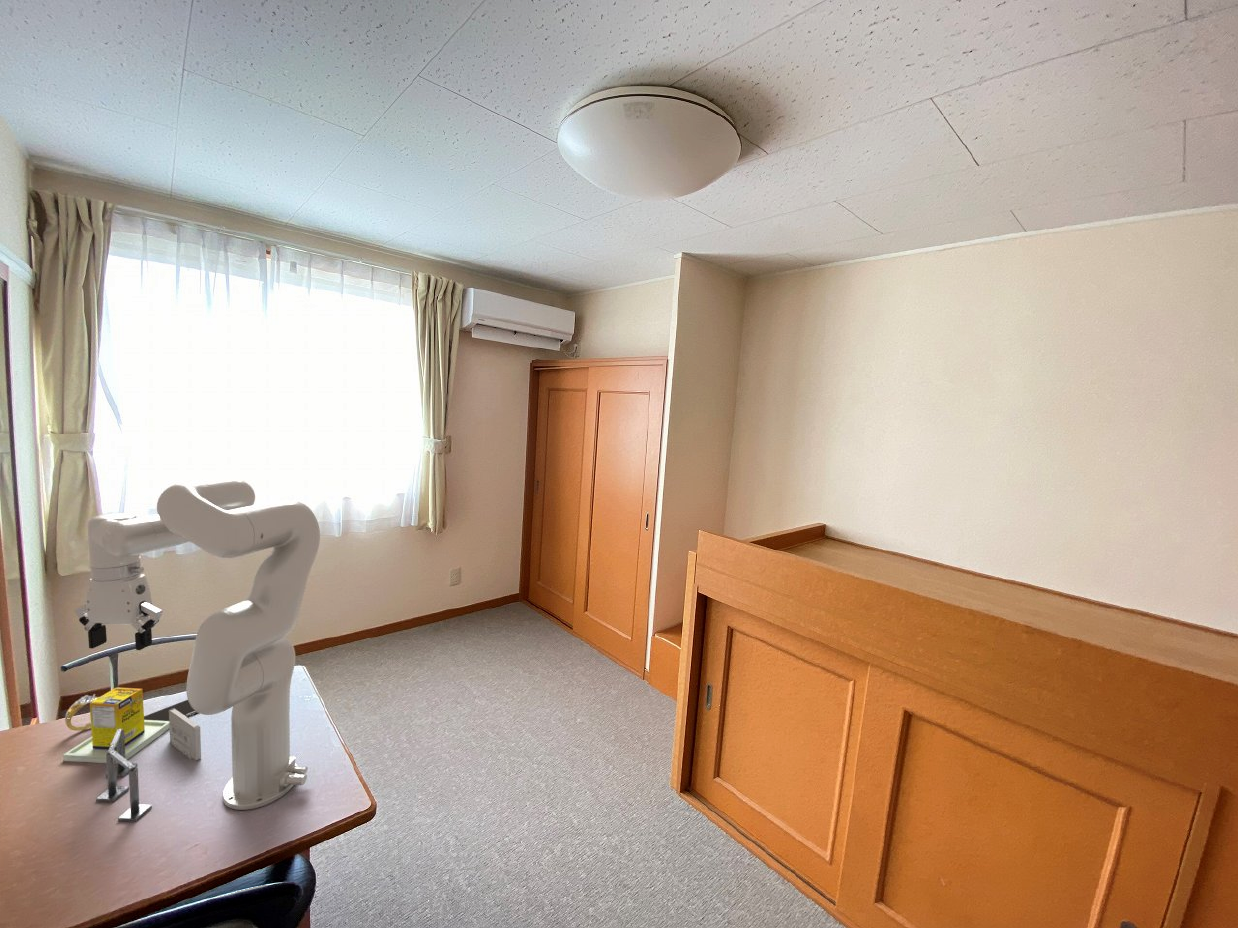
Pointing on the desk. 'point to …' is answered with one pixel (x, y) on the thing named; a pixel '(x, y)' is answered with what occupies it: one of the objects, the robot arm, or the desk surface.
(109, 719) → the supplement box
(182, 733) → the cassette
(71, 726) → the ring
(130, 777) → the metal handrail
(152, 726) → the tray
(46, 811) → the desk surface
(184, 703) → the smartphone
